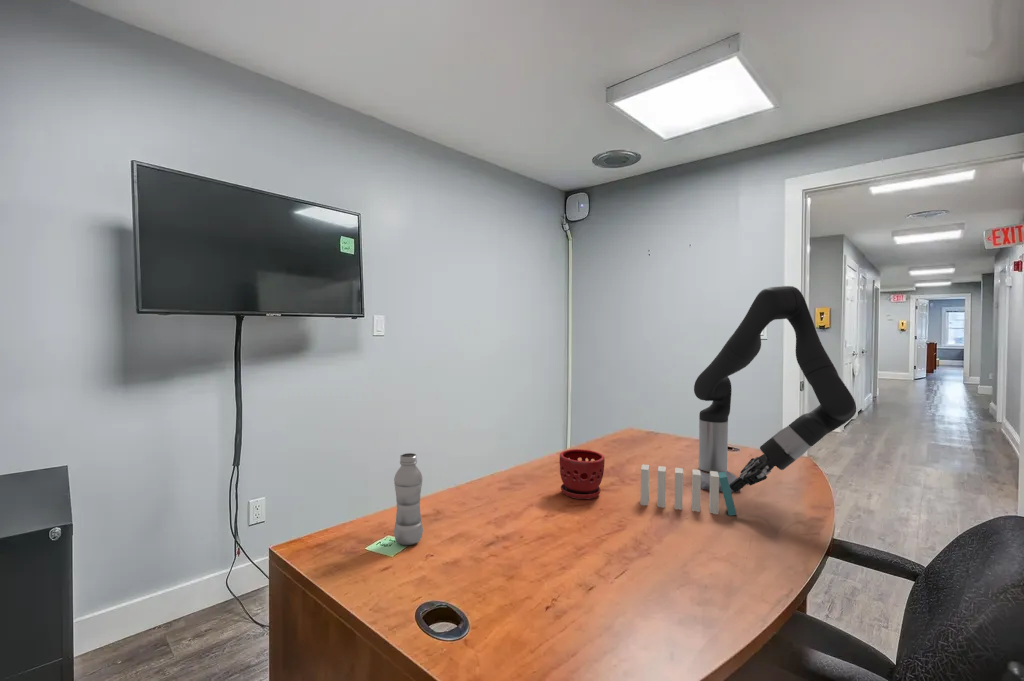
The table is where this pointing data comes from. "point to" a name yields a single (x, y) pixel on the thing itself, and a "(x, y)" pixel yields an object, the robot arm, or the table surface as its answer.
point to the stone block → (731, 477)
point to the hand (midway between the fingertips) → (732, 489)
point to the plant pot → (581, 473)
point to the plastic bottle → (408, 501)
